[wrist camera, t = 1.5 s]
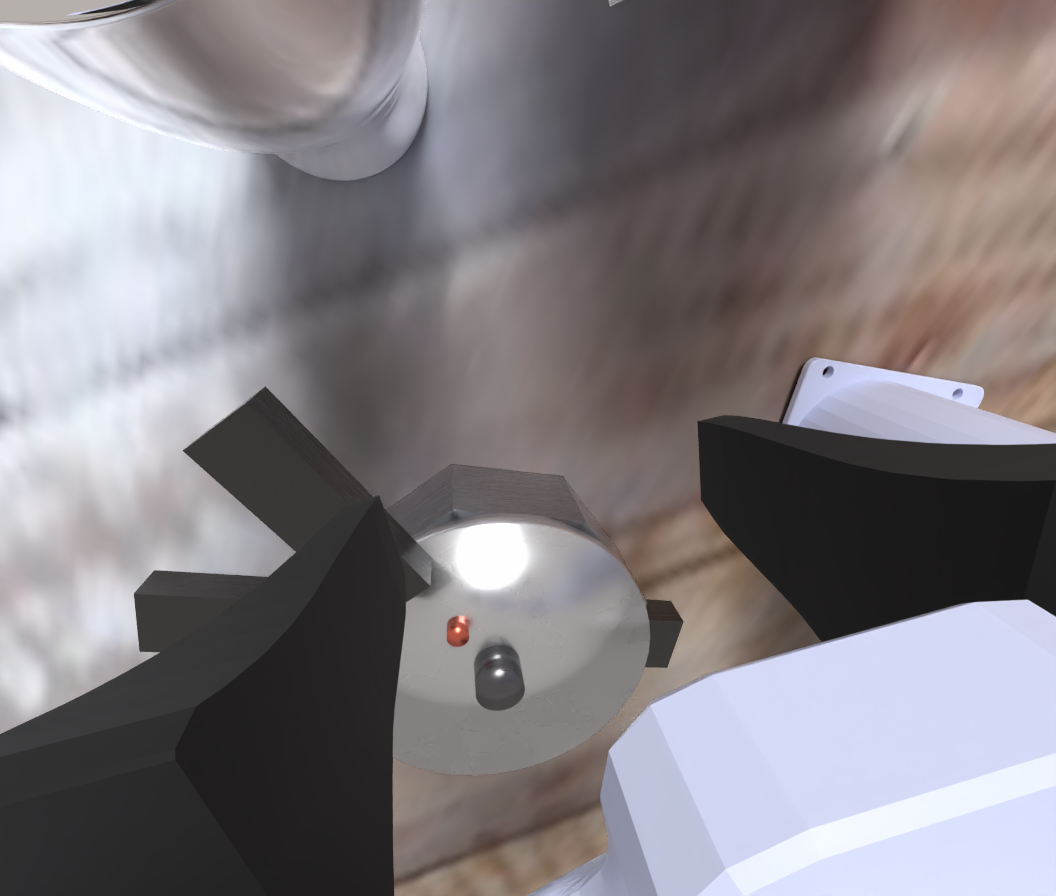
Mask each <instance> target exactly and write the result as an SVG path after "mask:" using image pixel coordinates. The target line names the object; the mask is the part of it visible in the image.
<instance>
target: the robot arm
mask: <svg viewBox="0 0 1056 896" xmlns="http://www.w3.org/2000/svg"><path fill="white" fill-rule="evenodd" d="M826 367H828V370H827V372H826V374H824V375H823V370H824V369H825V368H826ZM954 391H955V393H954ZM953 393H954V394H953ZM983 396H984V390H983V389H982V387H979V386H976V385H972V384H966V383H961V382H955V381H949V380H943V379H938V378H932V377H926V376H921V375H915V374H909V373H903V372H898V371H892V370H886V369H881V368H875V367H869V366H863V365H858V364H852V363H846V362H841V361H835V360H829V359H824V358H818V357H816V358H811V359H809V360H808V361H807V362H806V363H805V365H804V367H803V369H802V372H801V374H800V377H799V380H798V382H797V385H796V388H795V390H794V393H793V396H792V398H791V401H790V404H789V406H788V409H787V412H786V414H785V417H784V420H783V423H778V422H772V421H767V420H761V419H755V418H748V417H741V416H728V415H723V416H719V417H714V418H710V419H706V420H702V421H698V438H699V461H700V484H701V500H702V502H703V503H704V505H705V506H706V508H707V509H708V511H709V512H710V514H711V516H712V517H713V518H714V520H715V521H716V523H717V524H718V525H719V527H720V528H721V530H722V531H723V532H724V533H725V534H726V536H727V537H728V538H729V539H730V540H731V541H732V542H733V543H734V544H735V545H736V546H737V547H738V549H739V550H740V551H741V552H742V553H743V554H744V555H745V556H746V557H747V558H748V559H749V560H750V561H751V562H752V563H753V564H754V565H755V566H756V567H757V569H758V570H759V571H760V572H761V573H762V574H763V575H764V576H765V577H766V578H767V579H768V580H769V581H770V582H771V583H772V584H773V585H774V586H775V587H776V588H777V589H778V590H779V592H780V593H781V594H782V595H783V596H784V597H785V598H786V599H787V600H788V601H789V602H790V603H791V604H792V605H793V607H794V608H795V609H796V610H797V611H798V612H799V613H800V615H801V616H802V617H803V618H804V619H805V621H806V622H807V623H808V625H809V626H810V627H811V628H812V630H813V631H814V632H815V634H816V635H817V636H818V638H819V639H820V640H821V641H822V642H821V643H818V644H814V645H810V646H807V647H803V648H800V649H796V650H792V651H789V652H785V653H781V654H778V655H774V656H771V657H767V658H763V659H760V660H756V661H753V662H749V663H745V664H742V665H738V666H735V667H731V668H727V669H724V670H720V671H716V672H713V673H709V674H706V675H704V676H702V677H700V678H698V679H696V680H694V681H692V682H690V683H688V684H685V685H683V686H681V687H679V688H677V689H675V690H673V691H671V692H669V693H667V694H665V695H663V696H661V697H659V698H657V699H655V700H653V701H652V702H651V703H650V704H649V705H648V706H647V707H646V708H645V709H644V710H643V712H642V713H641V714H640V715H639V716H638V717H637V718H636V719H635V720H634V721H633V723H632V724H631V725H630V726H629V727H628V728H627V729H626V730H625V731H624V733H623V734H622V735H621V736H620V737H619V738H618V739H617V740H616V742H615V743H614V744H613V746H612V747H611V749H610V750H609V753H608V758H607V763H606V768H605V773H604V778H603V783H602V788H601V793H600V800H601V806H602V811H603V817H604V822H605V827H606V833H607V838H608V842H607V851H606V852H605V853H603V854H601V855H599V856H597V857H595V858H594V859H592V860H590V861H588V862H586V863H585V864H583V865H581V866H579V867H577V868H575V869H574V870H572V871H570V872H568V873H566V874H565V875H563V876H561V877H559V878H557V879H555V880H554V881H552V882H550V883H548V884H546V885H544V886H543V887H541V888H539V889H537V890H535V891H534V892H532V893H530V894H528V895H526V896H1056V433H1053V432H1050V431H1047V430H1043V429H1040V428H1037V427H1034V426H1031V425H1028V424H1025V423H1022V422H1019V421H1015V420H1012V419H1009V418H1006V417H1003V416H1000V415H997V414H994V413H990V412H987V411H984V410H981V409H978V406H979V404H980V402H981V400H982V398H983ZM405 618H406V586H405V571H404V568H403V565H402V562H401V559H400V556H399V553H398V550H397V547H396V544H395V541H394V538H393V535H392V532H391V529H390V526H389V523H388V520H387V517H386V514H385V511H384V509H383V506H382V503H381V500H380V497H379V496H375V497H371V498H366V499H362V500H358V501H354V502H350V503H349V504H347V505H346V506H345V507H344V508H342V509H341V510H340V511H339V512H338V513H337V514H336V515H335V516H334V517H333V518H332V519H331V520H330V521H329V522H328V523H326V524H325V525H324V526H323V527H322V528H321V529H320V530H319V531H318V532H317V533H316V534H315V535H314V536H313V537H312V538H311V539H310V540H309V541H308V542H307V543H306V544H305V545H304V546H303V547H302V548H301V549H299V550H298V551H297V552H296V553H295V554H294V555H293V556H292V557H291V558H289V559H288V560H287V561H286V562H285V563H284V564H283V565H281V566H280V567H279V568H278V569H277V570H276V571H275V572H273V573H272V574H271V575H270V576H269V577H268V578H267V579H266V580H264V581H263V582H262V583H261V584H259V585H258V586H257V587H256V588H254V589H253V590H252V591H251V592H249V593H248V594H247V595H246V596H244V597H243V598H242V599H240V600H239V601H237V602H236V603H235V604H233V605H232V606H231V607H229V608H228V609H226V610H225V611H224V612H222V613H221V614H220V615H218V616H217V617H215V618H214V619H212V620H211V621H209V622H208V623H206V624H205V625H203V626H201V627H200V628H198V629H197V630H195V631H194V632H192V633H190V634H189V635H187V636H186V637H184V638H183V639H181V640H179V641H178V642H176V643H175V644H173V645H172V646H170V647H168V648H167V649H165V650H164V651H162V652H160V653H159V654H157V655H155V656H154V657H152V658H150V659H148V660H147V661H145V662H143V663H141V664H140V665H138V666H136V667H134V668H132V669H131V670H129V671H127V672H125V673H124V674H122V675H120V676H118V677H116V678H114V679H112V680H110V681H108V682H107V683H105V684H103V685H101V686H99V687H97V688H95V689H93V690H91V691H90V692H88V693H86V694H84V695H82V696H80V697H78V698H76V699H74V700H72V701H70V702H68V703H66V704H64V705H61V706H59V707H57V708H55V709H53V710H51V711H49V712H47V713H44V714H42V715H40V716H38V717H36V718H34V719H32V720H29V721H27V722H25V723H23V724H21V725H19V726H17V727H14V728H12V729H10V730H8V731H6V732H4V733H2V734H0V896H394V872H393V795H392V774H393V724H394V711H395V701H396V693H397V685H398V677H399V669H400V661H401V652H402V644H403V636H404V627H405Z"/></svg>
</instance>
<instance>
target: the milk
mask: <svg viewBox="0 0 1056 896" xmlns="http://www.w3.org/2000/svg"><path fill="white" fill-rule="evenodd" d="M621 1H623V0H608V2H609V6H612V5H614V4H617V3H619V2H621Z"/></svg>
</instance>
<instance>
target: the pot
mask: <svg viewBox="0 0 1056 896" xmlns="http://www.w3.org/2000/svg"><path fill="white" fill-rule="evenodd" d="M386 511H387V512H388V513H389V514H390V515H391V516H392V517H393V518H394V519H395V520H396V521H397V522H398V523H399V524H400V525H401V526H402V527H403V528H404V529H405V530H406V532H407V533H408V534H409V535H410V536H412V535H415V534H417V533H419V532H421V531H423V530H426V529H428V528H430V527H432V526H435V525H438V524H441V523H444V522H447V521H450V520H453V519H458V518H462V517H467V516H472V515H477V514H489V513H524V514H530V515H537V516H543V517H547V518H551V519H554V520H558V521H561V522H564V523H567V524H569V525H571V526H574V527H576V528H578V529H581V530H583V531H584V532H586V533H588V534H589V535H591V536H593V537H594V538H596V539H598V540H599V541H600V542H601V543H603V544H604V545H605V546H606V547H608V548H609V549H610V550H611V551H612V552H613V553H614V554H615V555H616V556H617V557H618V558H619V560H620V561H621V562H622V563H623V564H624V566H625V567H626V569H627V570H628V572H629V574H630V575H631V577H632V578H633V576H632V574H631V572H630V570H629V569H628V567H627V565H626V563H625V561H624V560H623V558H622V556H621V554H620V552H619V551H618V549H617V548H616V546H615V545H614V544H613V542H612V541H611V540H610V538H609V537H608V536H607V535H606V533H605V532H604V531H603V529H602V528H601V527H600V525H599V524H598V523H597V521H596V520H595V519H594V517H593V516H592V515H591V513H590V512H589V511H588V509H587V508H586V507H585V505H584V504H583V503H582V501H581V500H580V499H579V497H578V496H577V495H576V493H575V492H574V491H573V489H572V488H571V487H570V485H569V484H568V483H567V481H566V480H565V479H564V477H563V476H556V475H546V474H537V473H528V472H519V471H509V470H500V469H491V468H481V467H472V466H463V465H454V464H451V465H450V466H448V467H447V468H445V469H444V470H442V471H441V472H440V473H438V474H437V475H435V476H434V477H433V478H431V479H430V480H428V481H427V482H426V483H424V484H423V485H421V486H420V487H418V488H417V489H416V490H414V491H413V492H411V493H410V494H409V495H407V496H406V497H404V498H403V499H402V500H400V501H399V502H397V503H396V504H394V505H393V506H392V507H390V508H389V509H387V510H386ZM267 578H268V577H257V576H241V575H224V574H207V573H190V572H173V571H156V570H154V571H153V573H152V574H151V575H150V576H149V577H148V578H147V579H146V581H145V582H144V583H143V584H142V585H141V586H140V587H139V589H138V590H137V591H136V592H135V593H134V599H135V609H136V619H137V629H138V639H139V649H140V652H162V651H164V650H165V649H167V648H168V647H170V646H172V645H173V644H175V643H176V642H178V641H179V640H181V639H183V638H184V637H186V636H187V635H189V634H190V633H192V632H194V631H195V630H197V629H198V628H200V627H201V626H203V625H205V624H206V623H208V622H209V621H211V620H212V619H214V618H215V617H217V616H218V615H220V614H221V613H222V612H224V611H225V610H226V609H228V608H229V607H231V606H232V605H233V604H235V603H236V602H237V601H239V600H240V599H242V598H243V597H244V596H246V595H247V594H248V593H249V592H251V591H252V590H253V589H254V588H256V587H257V586H258V585H259V584H261V583H262V582H263V581H264V580H266V579H267ZM633 580H634V582H635V584H636V586H637V587H638V585H637V583H636V581H635V579H634V578H633ZM638 589H639V591H640V593H641V596H642V598H643V601H644V603H645V605H646V609H647V614H648V618H649V626H650V644H649V653H648V657H647V661H646V665H645V667H662V668H667V667H668V664H669V661H670V658H671V655H672V653H673V650H674V647H675V644H676V641H677V638H678V636H679V633H680V630H681V627H682V624H683V620H682V618H681V617H680V615H679V614H678V612H677V610H676V609H675V607H674V606H673V604H672V602H671V601H662V600H646V599H645V597H644V595H643V594H642V592H641V590H640V588H639V587H638Z"/></svg>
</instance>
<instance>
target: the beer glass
mask: <svg viewBox="0 0 1056 896" xmlns="http://www.w3.org/2000/svg"><path fill="white" fill-rule="evenodd" d="M427 1H428V0H0V67H2V68H4V69H6V70H8V71H10V72H12V73H14V74H16V75H18V76H20V77H22V78H24V79H27V80H29V81H31V82H33V83H35V84H37V85H39V86H41V87H43V88H45V89H47V90H50V91H52V92H54V93H56V94H58V95H61V96H63V97H66V98H68V99H70V100H73V101H75V102H77V103H80V104H82V105H85V106H87V107H89V108H92V109H94V110H97V111H99V112H101V113H104V114H106V115H109V116H111V117H113V118H116V119H118V120H121V121H123V122H125V123H128V124H131V125H133V126H136V127H139V128H142V129H145V130H148V131H151V132H155V133H158V134H162V135H165V136H168V137H172V138H175V139H179V140H182V141H185V142H189V143H192V144H196V145H200V146H204V147H208V148H212V149H218V150H224V151H232V152H247V153H265V154H276V155H277V156H279V157H280V158H281V159H283V160H284V161H286V162H287V163H289V164H290V165H292V166H294V167H295V168H297V169H299V170H301V171H303V172H306V173H308V174H311V175H313V176H316V177H320V178H324V179H329V180H338V181H350V180H358V179H363V178H367V177H370V176H373V175H375V174H377V173H380V172H381V171H383V170H385V169H387V168H388V167H390V166H391V165H392V164H394V163H395V162H396V161H397V160H398V159H399V158H400V157H401V156H402V155H403V154H404V153H405V152H406V150H407V149H408V148H409V146H410V145H411V143H412V142H413V140H414V138H415V137H416V135H417V133H418V130H419V128H420V126H421V123H422V120H423V116H424V112H425V108H426V102H427V91H428V79H427V68H426V62H425V57H424V52H423V48H422V45H421V42H420V39H419V34H420V31H421V26H422V22H423V18H424V14H425V9H426V5H427Z"/></svg>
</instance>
